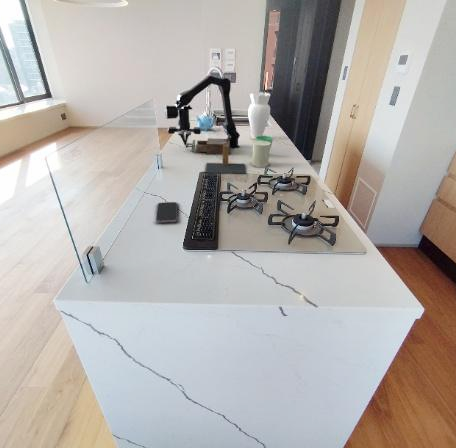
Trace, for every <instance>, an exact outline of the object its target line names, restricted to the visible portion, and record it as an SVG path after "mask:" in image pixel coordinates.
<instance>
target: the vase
mask: <svg viewBox="0 0 456 448" xmlns="http://www.w3.org/2000/svg"><path fill="white" fill-rule="evenodd" d="M249 97H250V100H251V103H250V105H249V106H248V111H247V115H248V116H247V117H248V122H249V128H250V132H251V133H250V134H251V135H250V139H251V140H253V141H256V137H258V136H263V135H264V132H265V130H266V127H267V124H268V121H269V120H270V115H271V107H270V105H269V100H270V97H271V93H269V92H266V93H264V92H261V91H260V92H256V91H254V92H251V93H250V94H249Z"/></svg>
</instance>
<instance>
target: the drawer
mask: <svg viewBox="0 0 456 448" xmlns="http://www.w3.org/2000/svg"><path fill="white" fill-rule="evenodd" d="M185 148H186V149H188V148H191V153H195V152H201V153H202V152H205V153H207V140H197V141H196V139H193V140H192V142H191V143H189V142H187V143H186V145H185Z"/></svg>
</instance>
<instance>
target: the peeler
mask: <svg viewBox="0 0 456 448" xmlns="http://www.w3.org/2000/svg"><path fill="white" fill-rule="evenodd" d="M229 156H230V155H229V142H223V155H222V163H223V165H228V164H229V158H230V157H229Z"/></svg>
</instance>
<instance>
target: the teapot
mask: <svg viewBox="0 0 456 448" xmlns="http://www.w3.org/2000/svg"><path fill="white" fill-rule="evenodd" d="M195 117H196V123H197V127H200V128H201V131H203V130H204V132H208V131H211V130H212V128H213V126H214V124H215V123H214V122H215V121H214V120H215V117H213V114H211V115H209V117H208V116H207V115H204V116H203V117H200V118H199V116H198V115H195ZM212 117H213V118H212Z"/></svg>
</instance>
